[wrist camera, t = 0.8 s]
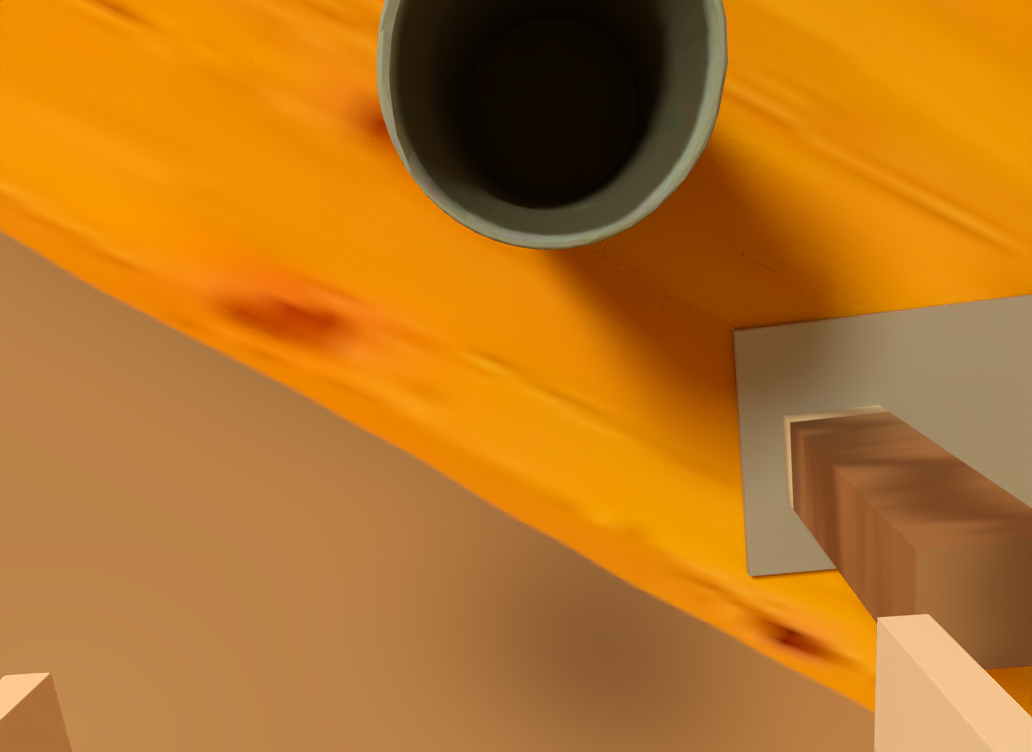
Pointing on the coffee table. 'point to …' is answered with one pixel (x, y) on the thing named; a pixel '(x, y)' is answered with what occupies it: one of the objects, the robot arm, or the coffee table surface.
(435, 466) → the coffee table surface
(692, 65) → the grey green cup
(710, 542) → the coffee table surface
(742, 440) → the felt mat
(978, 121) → the coffee table surface
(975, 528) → the walnut block
